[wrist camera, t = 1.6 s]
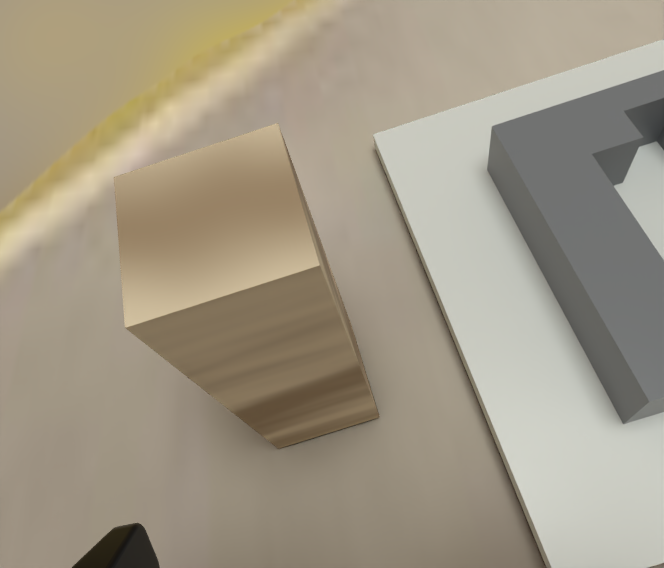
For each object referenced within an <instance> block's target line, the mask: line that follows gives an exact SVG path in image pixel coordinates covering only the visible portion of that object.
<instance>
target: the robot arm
mask: <svg viewBox="0 0 664 568" xmlns="http://www.w3.org/2000/svg"><path fill="white" fill-rule="evenodd" d="M72 568H160V567H159V562H158V559H157V557H156V554H155V552H154V550H153V547H152V545H151V542H150V540H149V537H148V535H147V533H146V530H145V528H144V527H143V526H142V525H141V524H139V523H133V524H128V525H123V526H118V527H115V528H113V529H112V530H111V531H110V532H109V533H108V534H107V535H106V536H105V537H103V538H102V539H101V540H100V541H99V542H98V543H97V544H96V545H95V546H94V547H93V548H92V549H91V550H90V551H89V552H88V553H87V554H86V555H84V556H83V557H82V558H81V559H80V560H79V561H78V562H77V563H76V564H75V565H74V566H73V567H72Z"/></svg>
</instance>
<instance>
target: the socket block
mask: <svg viewBox="0 0 664 568" xmlns="http://www.w3.org/2000/svg"><path fill="white" fill-rule="evenodd" d="M373 138H374V145H375V149H376V151H377V154H378V156H379V159H380V161H381V163H382V166H383V168H384V171H385V173H386V176H387V178H388V181H389V183H390V185H391V188H392V190H393V193H394V195H395V198H396V200H397V203H398V205H399V207H400V210H401V212H402V215H403V217H404V220H405V222H406V225H407V227H408V230H409V232H410V234H411V237H412V239H413V242H414V244H415V247H416V249H417V252H418V254H419V256H420V259H421V261H422V264H423V266H424V269H425V271H426V274H427V276H428V278H429V281H430V283H431V286H432V288H433V291H434V293H435V296H436V298H437V301H438V303H439V305H440V308H441V310H442V313H443V315H444V318H445V320H446V323H447V325H448V327H449V330H450V332H451V335H452V337H453V340H454V342H455V345H456V347H457V350H458V352H459V354H460V357H461V359H462V362H463V364H464V367H465V369H466V372H467V374H468V376H469V379H470V381H471V384H472V386H473V389H474V391H475V394H476V396H477V398H478V401H479V403H480V406H481V408H482V411H483V413H484V416H485V418H486V421H487V423H488V425H489V428H490V430H491V433H492V435H493V438H494V440H495V443H496V445H497V447H498V450H499V452H500V455H501V457H502V460H503V462H504V465H505V467H506V470H507V472H508V474H509V477H510V479H511V482H512V484H513V487H514V489H515V492H516V494H517V496H518V499H519V501H520V504H521V506H522V509H523V511H524V514H525V516H526V518H527V521H528V523H529V526H530V528H531V531H532V533H533V536H534V538H535V541H536V543H537V545H538V548H539V550H540V553H541V555H542V558H543V560H544V563H545V565H546V567H547V568H648V567H651V566H655V565H658V564H661V563H664V39H663V40H660V41H656V42H653V43H650V44H647V45H644V46H641V47H638V48H635V49H632V50H629V51H626V52H623V53H620V54H617V55H614V56H611V57H608V58H605V59H602V60H599V61H595V62H592V63H589V64H586V65H583V66H580V67H577V68H574V69H571V70H568V71H565V72H562V73H559V74H556V75H553V76H550V77H547V78H544V79H541V80H537V81H534V82H531V83H528V84H525V85H522V86H519V87H516V88H513V89H510V90H507V91H504V92H501V93H498V94H495V95H492V96H489V97H486V98H483V99H480V100H476V101H473V102H470V103H467V104H464V105H461V106H458V107H455V108H452V109H449V110H446V111H443V112H440V113H437V114H434V115H431V116H428V117H425V118H422V119H418V120H415V121H412V122H409V123H406V124H403V125H400V126H397V127H394V128H391V129H388V130H385V131H382V132H379V133H376V134H373Z"/></svg>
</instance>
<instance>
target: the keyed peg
mask: <svg viewBox="0 0 664 568" xmlns="http://www.w3.org/2000/svg"><path fill="white" fill-rule="evenodd" d="M114 186H115V199H116V213H117V226H118V239H119V253H120V266H121V279H122V292H123V306H124V319H125V328H126V329H127V330H129V331H130V332H131V333H132V334H134V335H135V336H136V337H137V338H139V339H140V340H141V341H142V342H144V343H145V344H146V345H148V346H149V347H150V348H151V349H153V350H154V351H155V352H156V353H158V354H159V355H160V356H162V357H163V358H164V359H165V360H167V361H168V362H169V363H170V364H172V365H173V366H174V367H175V368H177V369H178V370H179V371H181V372H182V373H183V374H184V375H186V376H187V377H188V378H189V379H191V380H192V381H193V382H194V383H196V384H197V385H198V386H200V387H201V388H202V389H203V390H205V391H206V392H207V393H208V394H210V395H211V396H212V397H214V398H215V399H216V400H217V401H219V402H220V403H221V404H222V405H224V406H225V407H226V408H227V409H229V410H230V411H231V412H233V413H234V414H235V415H236V416H238V417H239V418H240V419H241V420H243V421H244V422H245V423H247V424H248V425H249V426H250V427H252V428H253V429H254V430H255V431H257V432H258V433H259V434H260V435H262V436H263V437H264V438H266V439H267V440H268V441H269V442H271V443H272V444H273V445H274V446H276V447H277V448H278V449H279V448H282V447H286V446H289V445H292V444H295V443H298V442H302V441H305V440H308V439H311V438H314V437H318V436H321V435H324V434H327V433H330V432H334V431H337V430H340V429H343V428H346V427H350V426H353V425H356V424H359V423H362V422H366V421H369V420H372V419H375V418H379V413H378V410H377V407H376V404H375V400H374V397H373V394H372V391H371V387H370V384H369V381H368V378H367V375H366V371H365V368H364V365H363V362H362V358H361V355H360V352H359V349H358V345H357V342H356V339H355V336H354V332H353V329H352V326H351V323H350V320H349V317H348V315H347V312H346V309H345V306H344V304H343V301H342V298H341V295H340V293H339V290H338V287H337V284H336V282H335V279H334V276H333V273H332V271H331V268H330V265H329V262H328V260H327V257H326V254H325V251H324V249H323V246H322V243H321V240H320V238H319V235H318V232H317V229H316V226H315V224H314V221H313V218H312V215H311V213H310V210H309V207H308V204H307V202H306V199H305V196H304V193H303V191H302V188H301V185H300V182H299V180H298V177H297V174H296V171H295V169H294V166H293V163H292V160H291V158H290V155H289V152H288V149H287V147H286V144H285V141H284V138H283V136H282V133H281V130H280V127H279V124H278V123H276V124H273V125H270V126H267V127H264V128H261V129H258V130H255V131H252V132H249V133H246V134H243V135H240V136H237V137H234V138H231V139H228V140H225V141H222V142H219V143H216V144H213V145H210V146H207V147H204V148H201V149H198V150H195V151H192V152H189V153H186V154H183V155H180V156H176V157H173V158H170V159H167V160H164V161H161V162H158V163H155V164H152V165H149V166H146V167H143V168H140V169H137V170H134V171H131V172H128V173H125V174H122V175H119V176H116V177H114Z"/></svg>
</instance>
